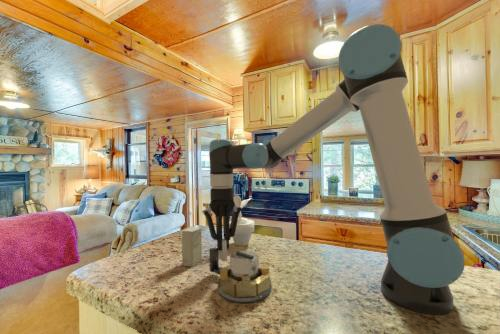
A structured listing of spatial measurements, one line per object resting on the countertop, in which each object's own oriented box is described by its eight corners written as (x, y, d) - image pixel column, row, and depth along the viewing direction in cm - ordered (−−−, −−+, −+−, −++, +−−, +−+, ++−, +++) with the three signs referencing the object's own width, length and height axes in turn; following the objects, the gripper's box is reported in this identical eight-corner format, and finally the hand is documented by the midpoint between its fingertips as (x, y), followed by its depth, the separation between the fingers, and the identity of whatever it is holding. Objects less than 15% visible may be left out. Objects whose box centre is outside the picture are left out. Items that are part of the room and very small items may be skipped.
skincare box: (192, 267, 78) (192, 231, 78) (181, 265, 79) (181, 230, 79) (202, 260, 84) (202, 227, 84) (191, 258, 85) (191, 226, 85)
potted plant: (240, 250, 94) (239, 189, 94) (223, 243, 102) (223, 187, 102) (261, 243, 102) (261, 187, 102) (244, 237, 111) (244, 186, 111)
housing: (282, 286, 65) (281, 252, 65) (245, 311, 53) (245, 270, 54) (244, 271, 75) (243, 241, 75) (206, 289, 64) (206, 255, 64)
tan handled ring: (278, 281, 65) (278, 258, 65) (247, 303, 54) (246, 275, 55) (226, 262, 79) (226, 242, 79) (193, 276, 68) (193, 254, 68)
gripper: (235, 185, 81) (236, 252, 81) (199, 187, 75) (201, 259, 75) (244, 186, 74) (246, 259, 74) (205, 189, 68) (207, 268, 68)
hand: (223, 259), depth 74 cm, fingers closed
